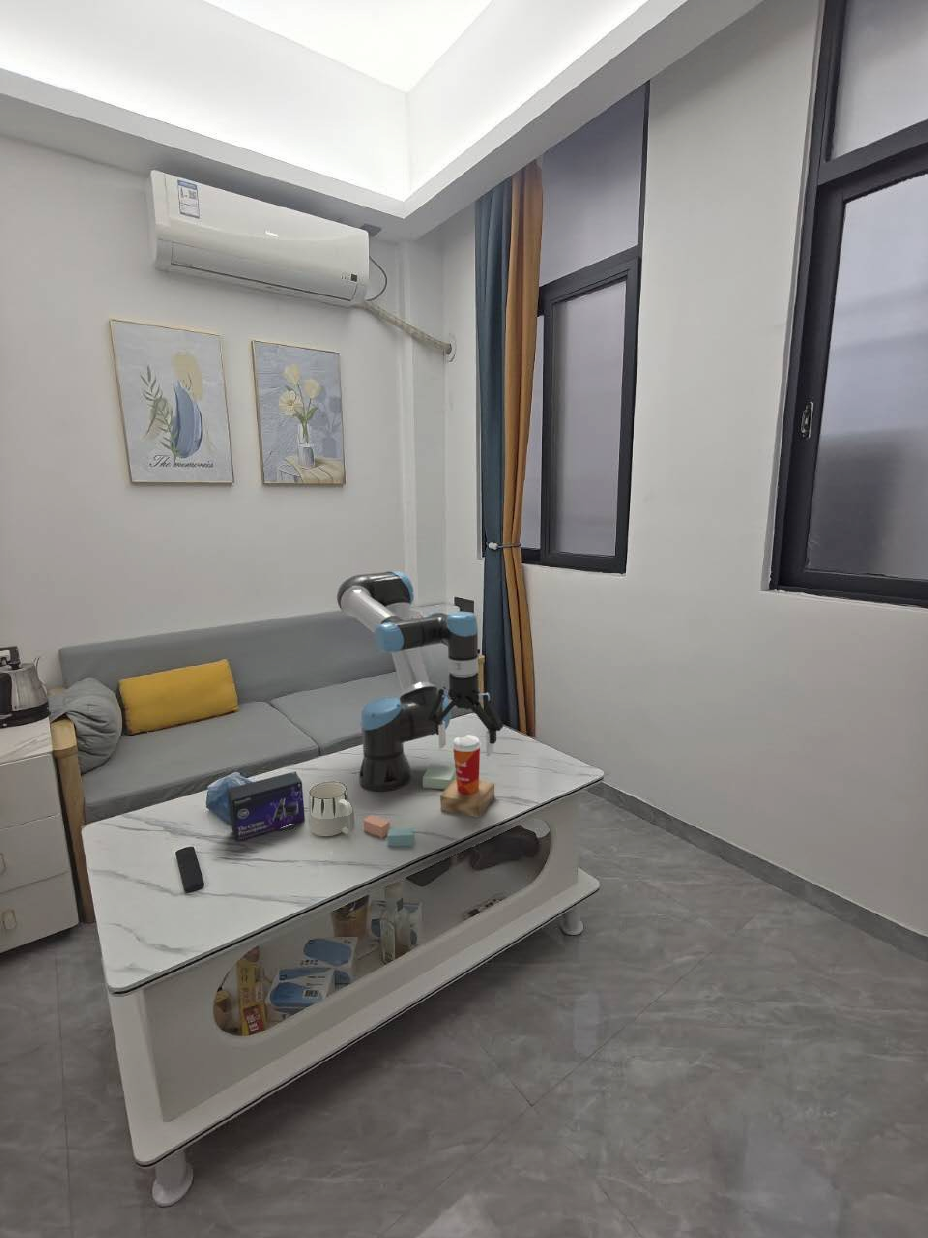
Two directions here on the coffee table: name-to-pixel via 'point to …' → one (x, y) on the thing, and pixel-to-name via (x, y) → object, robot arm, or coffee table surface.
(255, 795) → the box
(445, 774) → the sage pad
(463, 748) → the paper cup
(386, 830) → the brick
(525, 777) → the coffee table surface
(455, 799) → the oak block
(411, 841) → the brick
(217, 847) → the coffee table surface
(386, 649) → the robot arm
